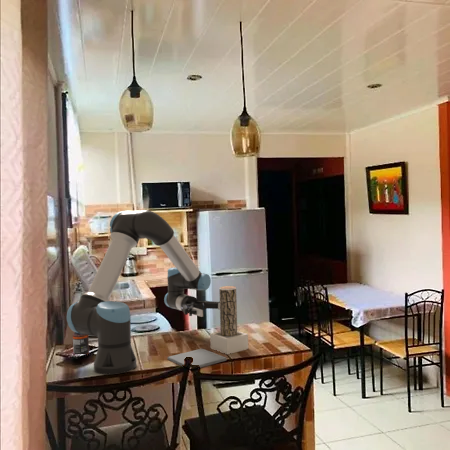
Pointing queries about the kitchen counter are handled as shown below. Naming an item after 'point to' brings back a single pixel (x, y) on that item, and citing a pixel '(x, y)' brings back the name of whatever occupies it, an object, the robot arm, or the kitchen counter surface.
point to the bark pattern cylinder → (228, 311)
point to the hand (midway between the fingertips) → (215, 310)
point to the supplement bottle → (80, 344)
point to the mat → (198, 358)
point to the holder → (229, 342)
